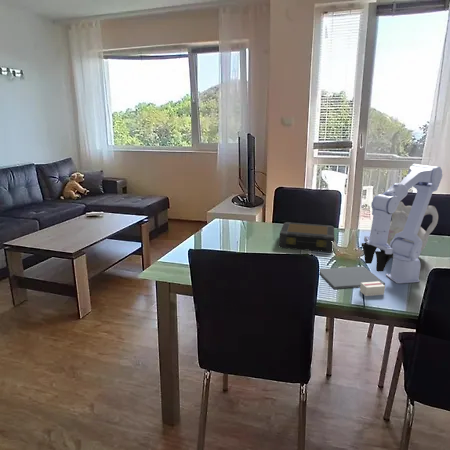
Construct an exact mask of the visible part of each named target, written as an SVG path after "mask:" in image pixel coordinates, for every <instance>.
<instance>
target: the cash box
mask: <svg viewBox="0 0 450 450" xmlns="http://www.w3.org/2000/svg"><path fill="white" fill-rule="evenodd" d="M278 239H279V242H278V247H279V246H280V247H279V248H281V247H282V248H281V249H288V248H290V250H301V251H313V252H324V253H333V252H334V250H333V251H332V242H331V241H333V242H334V243H335V227H334V226H333V225H329V224H318V223H317V224H316V223H313V224H312V223H302V222H301V223H300V222H289V221H287V222H286V221H285V222H283V225H282V227H281V229H280V232H279V238H278Z"/></svg>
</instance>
